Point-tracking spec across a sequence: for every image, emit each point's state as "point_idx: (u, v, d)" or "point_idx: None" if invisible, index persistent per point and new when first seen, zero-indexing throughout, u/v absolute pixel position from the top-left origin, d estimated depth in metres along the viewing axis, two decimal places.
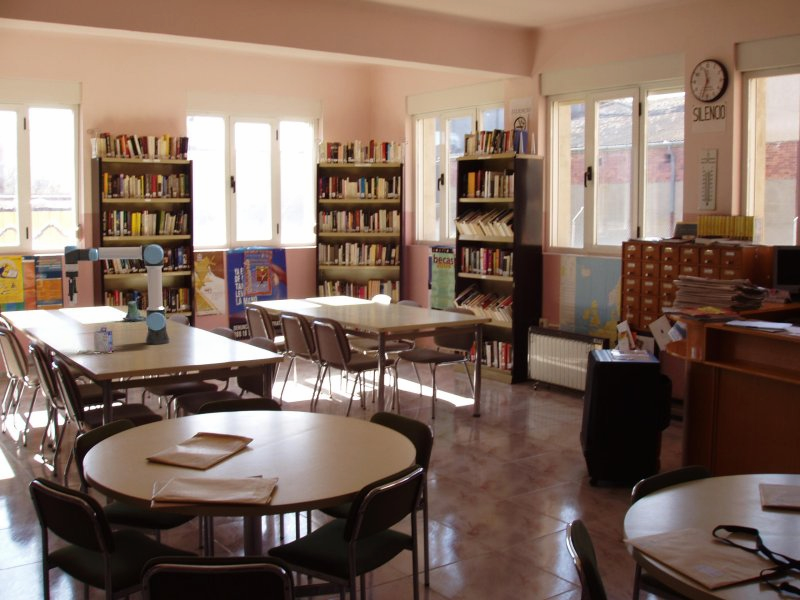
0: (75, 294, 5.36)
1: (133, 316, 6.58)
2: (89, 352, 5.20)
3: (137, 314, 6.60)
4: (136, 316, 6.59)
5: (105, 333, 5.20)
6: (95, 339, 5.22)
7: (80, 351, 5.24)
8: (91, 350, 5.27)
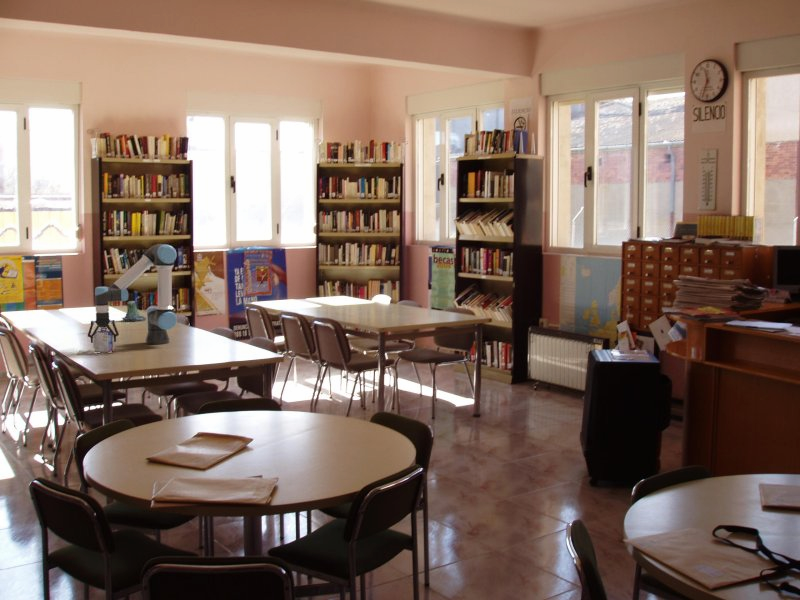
0: None
1: (132, 316, 6.59)
2: (89, 352, 5.20)
3: (136, 314, 6.61)
4: (135, 316, 6.60)
5: (105, 333, 5.20)
6: (95, 339, 5.22)
7: (80, 351, 5.24)
8: (91, 350, 5.27)
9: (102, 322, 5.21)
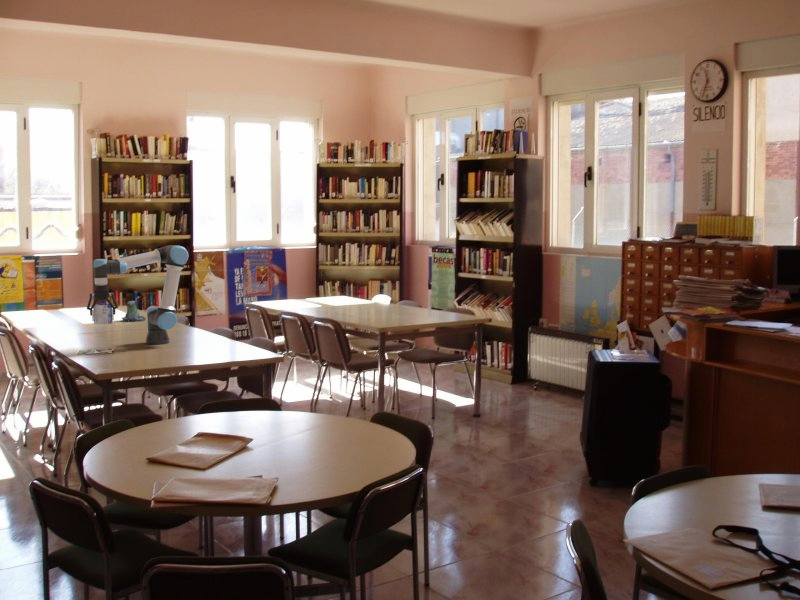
0: None
1: (132, 316, 6.59)
2: (89, 352, 5.20)
3: (136, 314, 6.61)
4: (135, 316, 6.60)
5: (104, 306, 5.19)
6: (94, 312, 5.20)
7: (80, 351, 5.24)
8: (91, 350, 5.27)
9: (101, 294, 5.19)
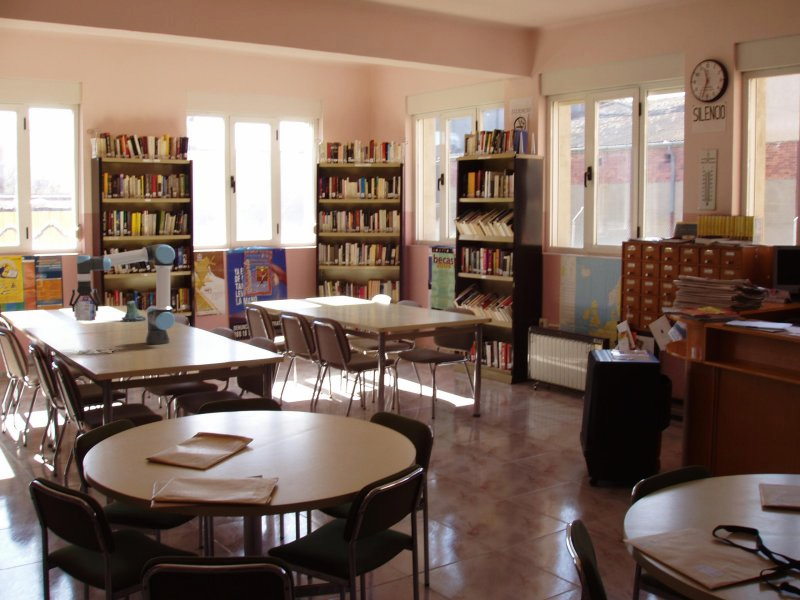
0: (94, 307, 5.20)
1: (132, 316, 6.60)
2: (89, 352, 5.20)
3: (136, 314, 6.61)
4: (135, 316, 6.61)
5: (87, 302, 5.16)
6: (77, 308, 5.17)
7: (80, 351, 5.24)
8: (91, 350, 5.27)
9: (84, 291, 5.17)
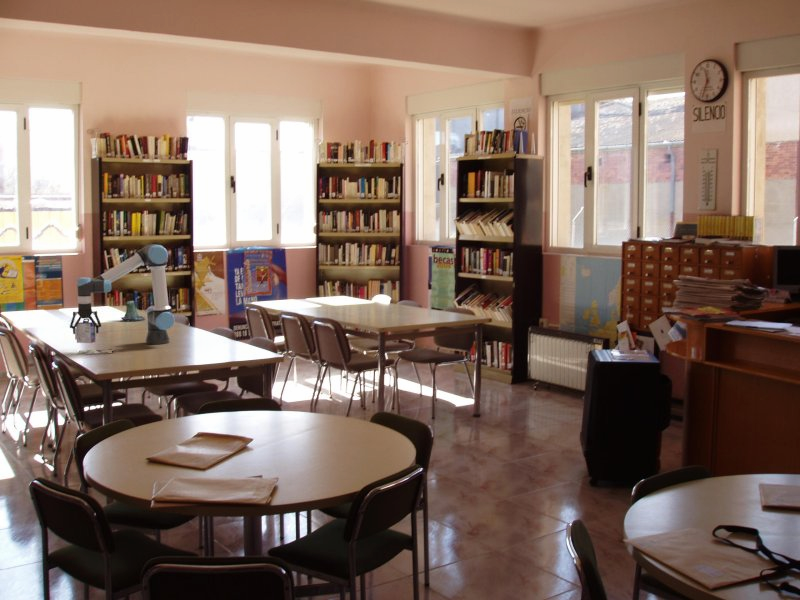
0: None
1: (131, 316, 6.60)
2: (89, 352, 5.20)
3: (135, 314, 6.62)
4: (134, 316, 6.61)
5: (88, 324, 5.17)
6: (77, 330, 5.19)
7: (80, 351, 5.24)
8: (91, 350, 5.27)
9: (84, 313, 5.18)
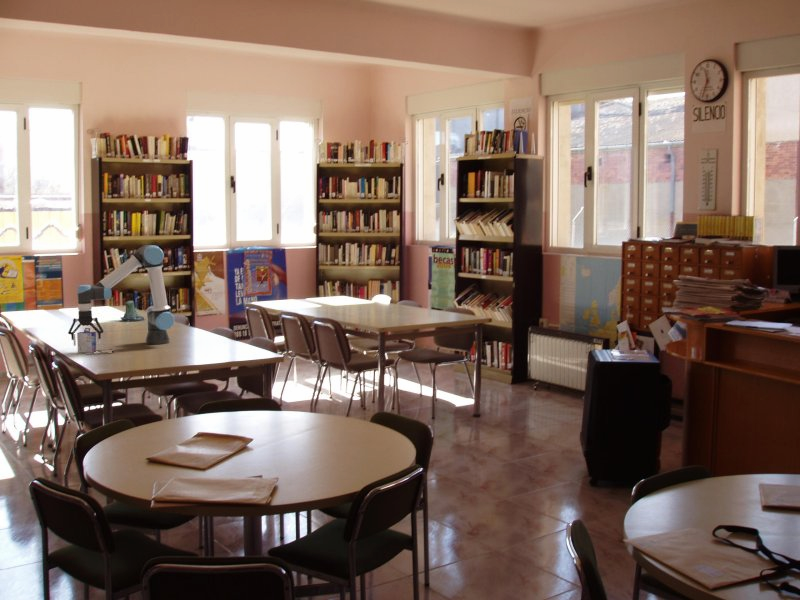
0: (97, 335, 5.22)
1: (130, 316, 6.60)
2: None
3: (134, 314, 6.62)
4: (133, 316, 6.61)
5: (89, 334, 5.18)
6: (78, 340, 5.20)
7: None
8: None
9: (85, 321, 5.19)
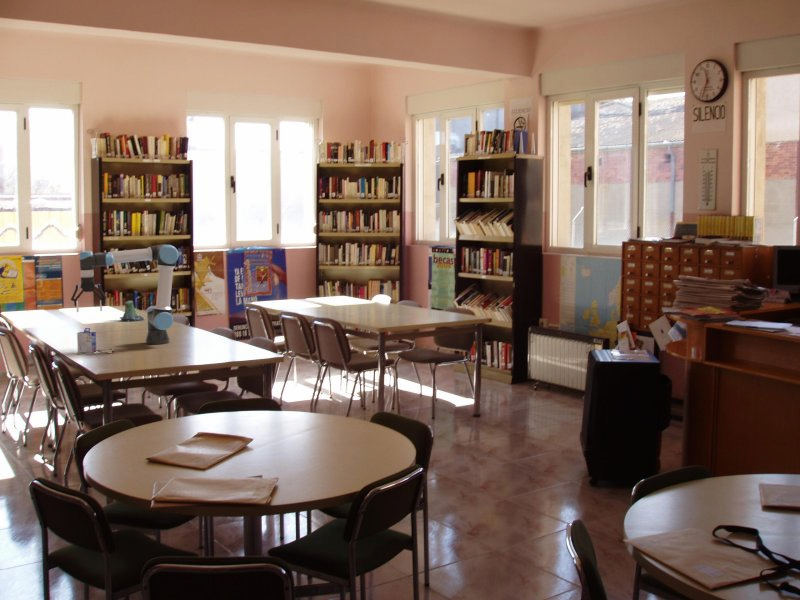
0: None
1: (129, 316, 6.61)
2: None
3: (133, 314, 6.62)
4: (132, 316, 6.61)
5: (89, 334, 5.18)
6: (78, 340, 5.19)
7: None
8: None
9: (87, 287, 5.20)
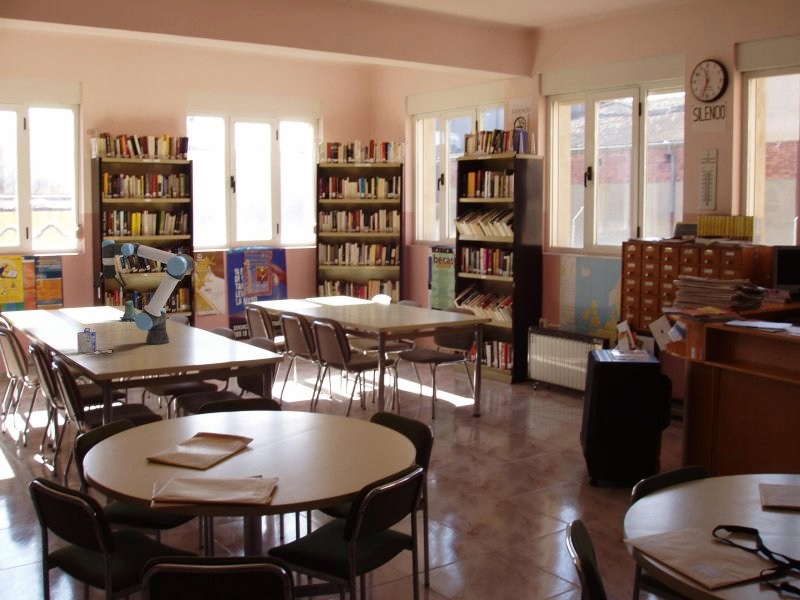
0: None
1: (129, 315, 6.61)
2: None
3: (133, 314, 6.63)
4: (132, 316, 6.62)
5: (89, 334, 5.18)
6: (78, 340, 5.19)
7: None
8: None
9: (109, 274, 5.44)
